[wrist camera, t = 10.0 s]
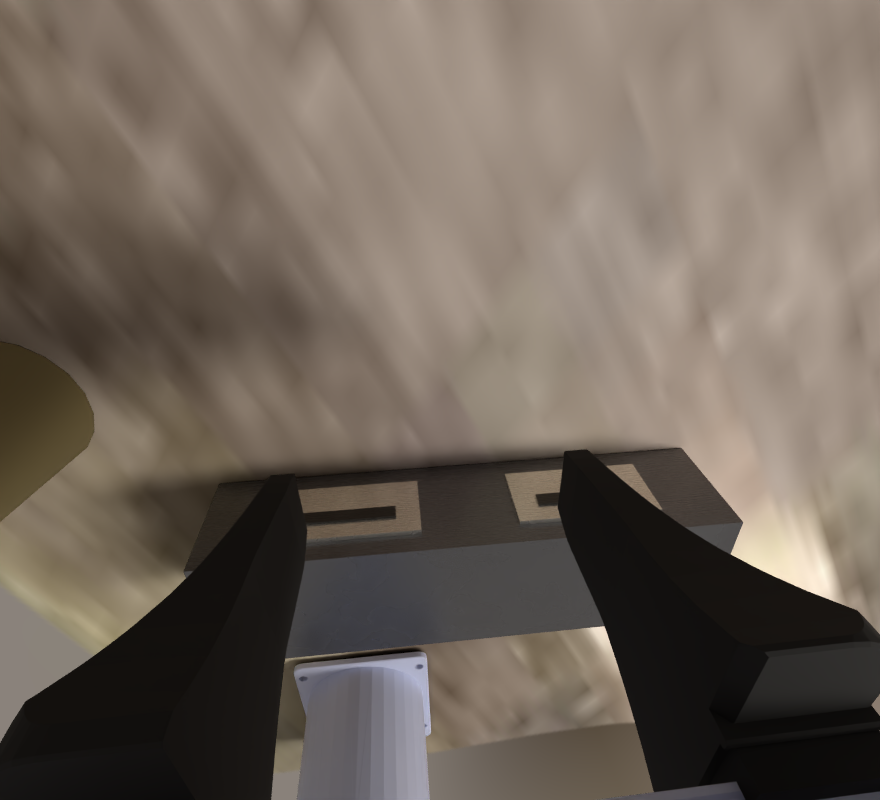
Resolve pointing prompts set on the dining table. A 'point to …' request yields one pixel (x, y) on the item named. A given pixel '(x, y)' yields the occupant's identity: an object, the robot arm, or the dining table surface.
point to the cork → (37, 423)
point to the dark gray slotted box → (454, 548)
